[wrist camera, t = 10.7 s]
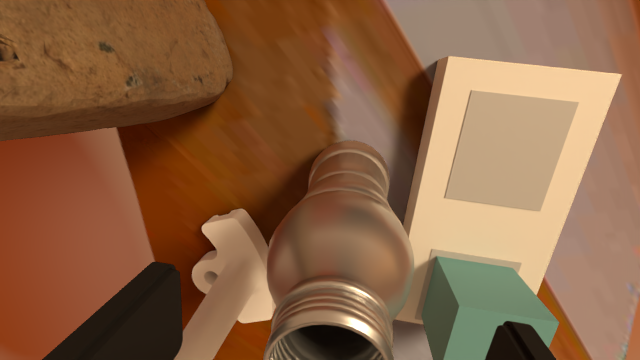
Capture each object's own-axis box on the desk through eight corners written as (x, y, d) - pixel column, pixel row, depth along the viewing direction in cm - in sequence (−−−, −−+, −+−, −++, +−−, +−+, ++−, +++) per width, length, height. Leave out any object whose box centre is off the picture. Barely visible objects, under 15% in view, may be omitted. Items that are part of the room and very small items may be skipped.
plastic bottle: (399, 152, 26) (508, 327, 7) (368, 219, 28) (387, 492, 9) (329, 124, 26) (249, 223, 7) (302, 193, 28) (187, 413, 9)
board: (503, 316, 29) (519, 342, 26) (387, 296, 30) (391, 319, 27) (588, 75, 23) (622, 74, 20) (438, 59, 24) (449, 56, 21)
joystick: (287, 302, 32) (183, 618, 13) (222, 312, 33) (42, 610, 14) (253, 205, 29) (59, 426, 10) (184, 220, 31) (-100, 439, 12)
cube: (491, 327, 26) (528, 394, 21) (421, 315, 27) (438, 377, 21) (512, 267, 25) (559, 322, 19) (436, 255, 25) (459, 305, 19)
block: (247, 98, 26) (-40, 129, 7) (172, 121, 28) (-233, 195, 9) (202, -42, 24) (-440, -569, 5) (121, -9, 25) (-628, -312, 6)
